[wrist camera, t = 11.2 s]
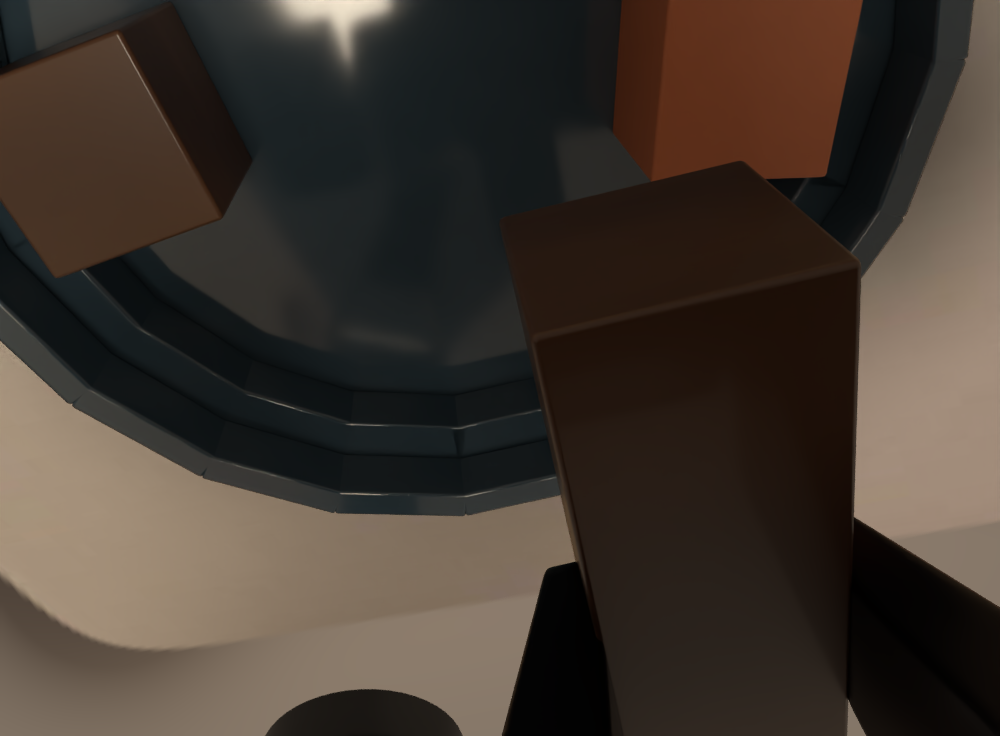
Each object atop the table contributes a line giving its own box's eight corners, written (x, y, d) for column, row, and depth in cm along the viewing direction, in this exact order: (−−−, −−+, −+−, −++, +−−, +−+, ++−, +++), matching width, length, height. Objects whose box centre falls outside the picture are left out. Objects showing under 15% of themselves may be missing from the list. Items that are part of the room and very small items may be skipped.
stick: (770, 680, 12) (846, 848, 10) (610, 716, 12) (652, 889, 10) (743, 156, 8) (864, 258, 6) (496, 216, 8) (529, 338, 6)
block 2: (760, 130, 16) (827, 178, 14) (611, 134, 16) (650, 184, 13) (788, -40, 14) (869, -21, 12) (623, -38, 14) (670, -17, 12)
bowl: (858, 340, 20) (931, 415, 17) (172, 492, 20) (134, 589, 17) (908, -776, 11) (1081, -999, 8) (-352, -459, 11) (-601, -568, 8)
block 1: (254, 162, 15) (224, 220, 13) (111, 214, 16) (54, 281, 13) (171, -1, 14) (118, 28, 11) (14, 61, 14) (-72, 102, 12)
